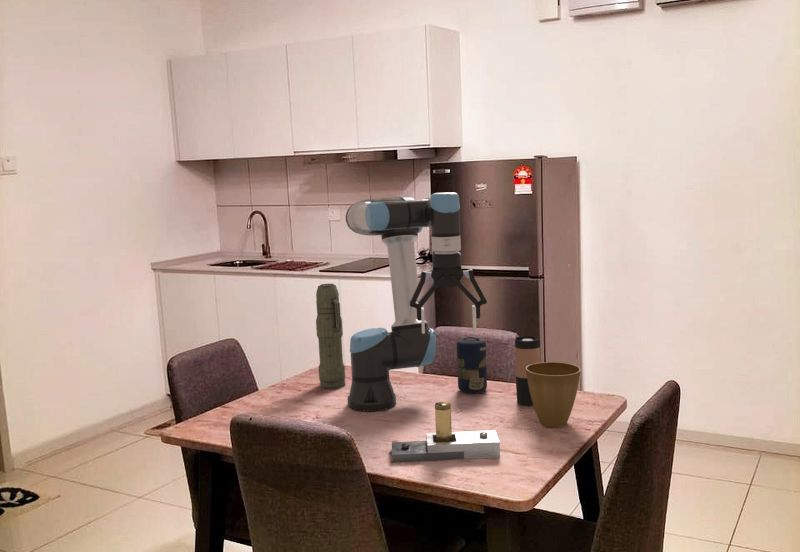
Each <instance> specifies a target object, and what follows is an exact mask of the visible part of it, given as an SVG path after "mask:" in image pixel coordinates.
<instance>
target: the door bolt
mask: <svg viewBox="0 0 800 552" xmlns="http://www.w3.org/2000/svg"><path fill="white" fill-rule="evenodd" d="M425 438H426V440H415V441H414V440H413V441H412V440H411V441H392V442H391V463H408V462H410V463H411V462H427V461H428V462H429V461H430V462H431V461H433V462H434V461H451V460H452V461H453V460H454V461H455V460H472V459H474V460H475V459H493V458H496V459H497V458H498V459H499V458H501V444H500V439H499V437H498V434H497V431H496V430H495V429H493V430H492V429H490V430H489V429H488V430H471V431H470V430H468V431H466V430H465V431H452V442H441V443H436V432H428V433H427V432H426V433H425Z"/></svg>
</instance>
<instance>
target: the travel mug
mask: <svg viewBox="0 0 800 552" xmlns="http://www.w3.org/2000/svg"><path fill="white" fill-rule="evenodd" d="M514 358H515V359H514V361H515V362H514V364H515V365H514V368H515V389H516V403H517V405H520V406H523V407H534V406H533V402H532V399H531V395H530V390H529V386H528V380H527V374H526V367H527V366H528V365H531V364H535V363H542V362H541V339H540V337H539V338H537V337H536V336H533V335H522V336H516V337H515V339H514Z"/></svg>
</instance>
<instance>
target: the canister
mask: <svg viewBox="0 0 800 552" xmlns="http://www.w3.org/2000/svg"><path fill="white" fill-rule="evenodd" d="M487 364H488V363H487V341H486V340H485V339H483V338H480V337H473V336H467V337H463V338H461V339H460V338H459V339H458V340H457V341H456V366H457V388H458V390H459V391H460V392H462V393H467V394H479V393H483V392H484V391H486V390H487V388H488V365H487Z"/></svg>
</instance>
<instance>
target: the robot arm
mask: <svg viewBox="0 0 800 552" xmlns="http://www.w3.org/2000/svg"><path fill="white" fill-rule="evenodd" d="M345 223H346V225H347V227H348V228H349V229H350V230H351V231H352V232H354V233H355V234H358V235H362V236H381V243H383V244H385V245H386V247H387V254H388V255H387V256H388V265H389V273H390V282H391V291H392V293H391V294H392V303H393V312H394V322H393V323H392V325H391V326H390V328H391V331H390V332H388V330H387V329H386V328H384V327H372V328H368V329H363V330H360V331H357V332H356V333H354V334H353V335H352V336H351V337H350V339H349V340H350V342H349V344H350V345H349V352H350V364H351V365H350V366H351V368H350V369H351V370H350V371H351V386H350V390H349V394H348V396H347V407H348V408H349V409H351V410H352V411H353V410H354V411H357V412H358V411H359V412H377V411H385V410H388V409H391V408H393V407H395V406H396V404H397V395H396V394H395V390H394V388H393V385H392V383H391V379H390V371H391V370H399V369H409V368H420V367H424V366H428V365H429V366H430V364H432V363H433V361H434V359H435V356H436V351H437V337H436V332H435V330H434V328H431V327H429V323H428V321H427V320H426V319H425V308H424V305H425V304H426V302H427V301H428V300H429V299H430V298H431V296H432V295H433V294H434V293H435V291H436V290H437V289H438V288H439V287H440V288H441V289H445V288H455V287H456V286H457V288H459V289H460V290H461V291H462V292H463V293H464V295H465V296H467V298H468V299H469V300H470V301H471V303H473V304H474V305H471V310H472V311H471V313H472V314H471V315H472V331H473V332H474V333H475V332H478V331H477V319H480V318H481V306H484V305H486V304H487V303H488V301H487V299H486V297H485V295H484V293H483V292H482V290H481V288H480V286H479V284H478V282H477V280H476V278H475V273H474V270H473V268H469V269H467V270H463V267H462V253H461V252H459V251H461V248H462V243H461V240H462V239H461V204H460V196H459V194H458V193H457V192H454V191H453V192H449V191H448V192H435V193H432V194H431V195H430V198H429V197H427V198H424V199H414V198H413V197H411V196H410V197H408V196H407V197H403V196H398V197H397V196H396V197H385V198H384V197H383V198H381V197H380V198H368V199H363V200H362V199H361V200H360V201H357V202H354V203H353V204H351V205H350V206H349V207H348V209H347V210H346V212H345ZM423 228H430V229H431V231H430V232H431V251H432V252H433V253H432V257H431V259H432V262H431V263H432V270H431V271H425V270H422V271H421V272H420V279H419V278H418V277H419V276H418V268H417V259H416V252H415V242H416V240H417V239H418V238H419V233H421V232H422V230H423ZM464 276H465V278H467V279H469V281H470V283H471V285H472V286H473V288H474V290H475V293H477V295H478V297H479V299H477V297H475V296H474V294H473V293H472V292H471V291H470V290H469V289H468V288H467V287H466V286H465V285H464V284H463V282H462V281H461V279H462V278H463V277H464ZM430 277H431V278H432V279H433V283H432V284H431V286H430V287H429V288H428V290H427V291H426V292H425V293H424V294H423V296H422V297H421V294H420V293H421V292H422V289H423V288H424V285H425V283H426V281H427V280H429V279H430Z"/></svg>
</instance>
